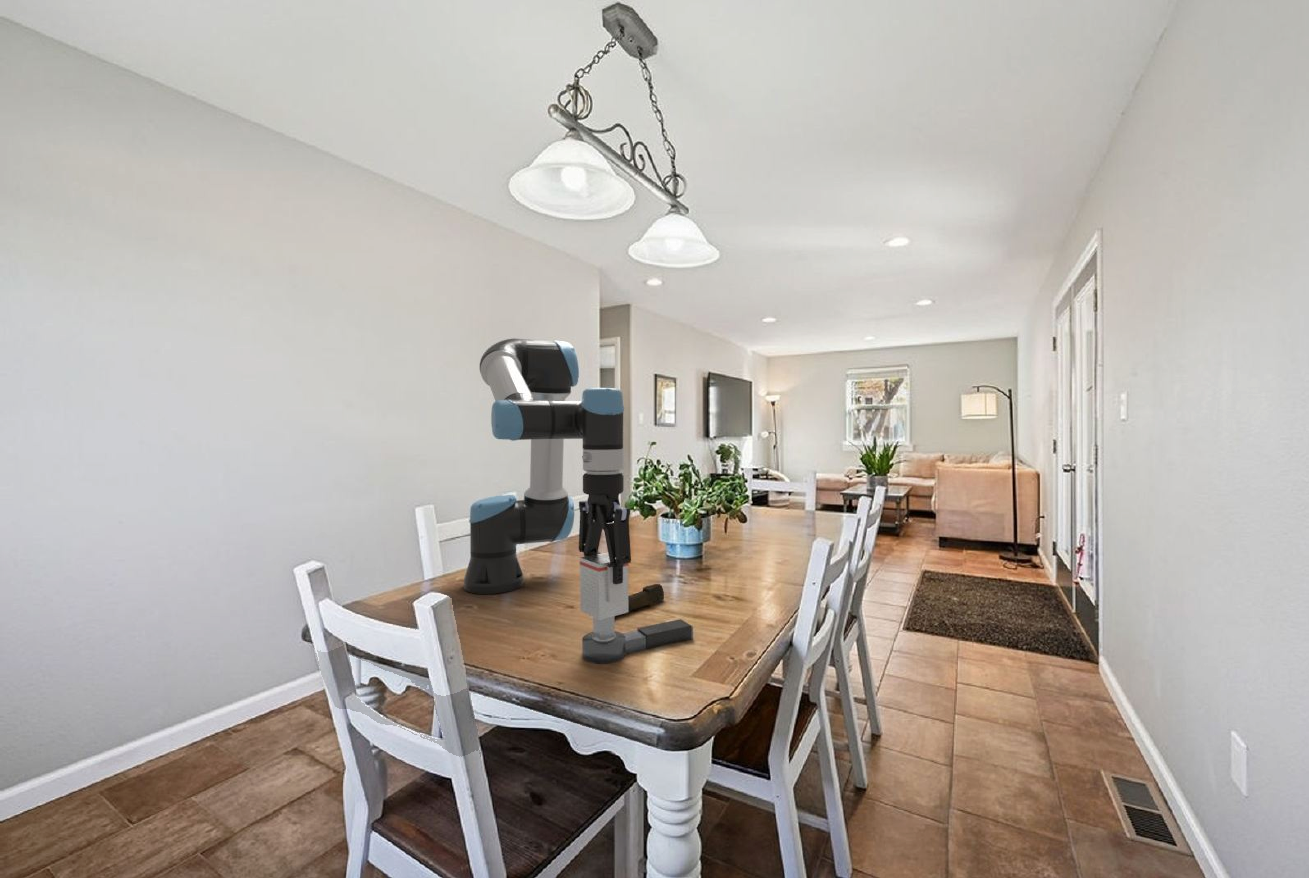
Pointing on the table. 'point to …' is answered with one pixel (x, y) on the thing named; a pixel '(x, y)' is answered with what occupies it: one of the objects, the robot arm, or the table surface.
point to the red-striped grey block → (600, 588)
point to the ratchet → (630, 639)
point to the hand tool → (646, 597)
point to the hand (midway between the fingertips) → (603, 595)
